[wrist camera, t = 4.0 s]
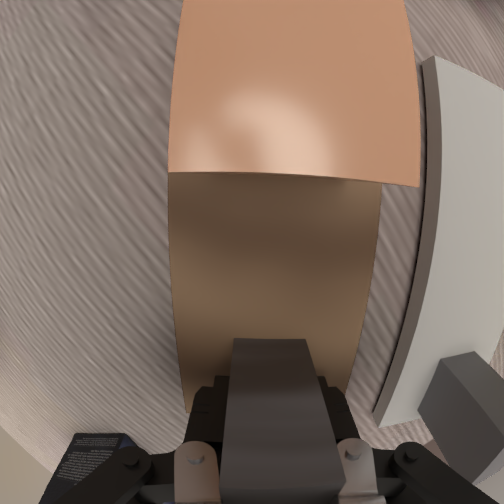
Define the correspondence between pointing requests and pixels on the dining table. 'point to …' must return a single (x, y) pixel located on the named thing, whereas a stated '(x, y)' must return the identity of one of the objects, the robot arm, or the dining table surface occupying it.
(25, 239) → the dining table surface
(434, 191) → the white strip with post
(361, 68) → the terracotta block
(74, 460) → the small box
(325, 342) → the brown base with blocks
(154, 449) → the dining table surface
